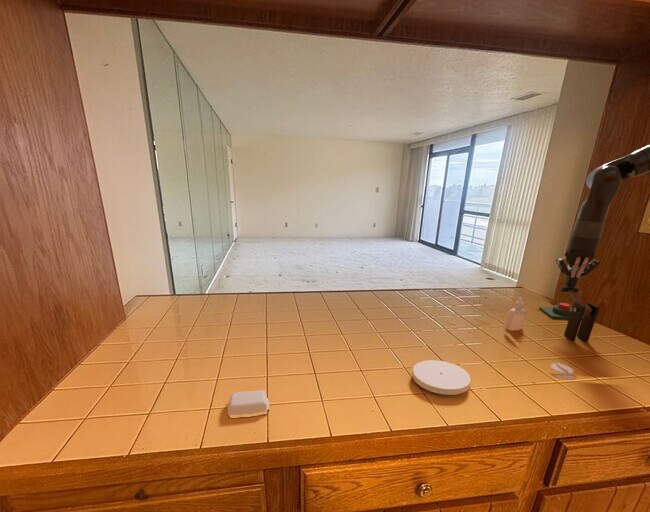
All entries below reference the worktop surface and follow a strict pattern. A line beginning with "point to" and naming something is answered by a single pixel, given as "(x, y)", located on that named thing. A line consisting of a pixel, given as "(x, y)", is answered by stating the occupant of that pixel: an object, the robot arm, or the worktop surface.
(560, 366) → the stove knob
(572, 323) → the bracket
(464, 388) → the plastic lid
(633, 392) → the worktop surface
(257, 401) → the soap
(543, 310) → the button box
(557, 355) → the worktop surface
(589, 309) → the lever
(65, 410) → the worktop surface
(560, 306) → the button
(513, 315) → the eye dropper bottle
